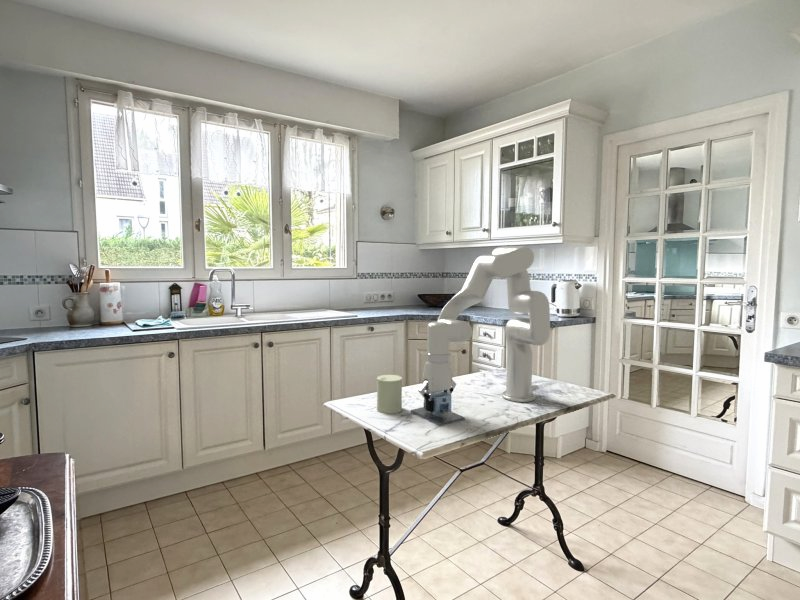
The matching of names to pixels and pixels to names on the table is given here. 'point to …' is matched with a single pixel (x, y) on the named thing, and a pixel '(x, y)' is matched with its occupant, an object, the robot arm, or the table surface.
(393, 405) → the can
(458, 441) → the table surface
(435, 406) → the blue-grey slotted block
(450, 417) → the rail
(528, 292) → the robot arm
